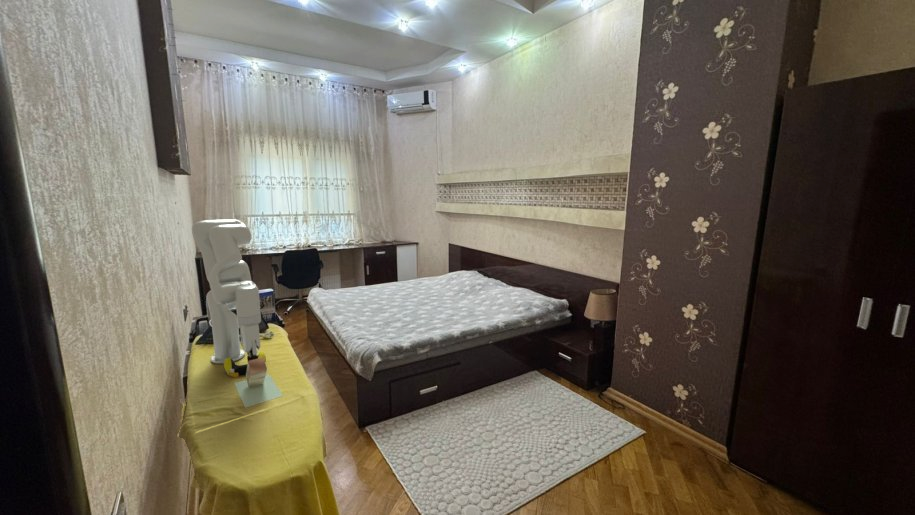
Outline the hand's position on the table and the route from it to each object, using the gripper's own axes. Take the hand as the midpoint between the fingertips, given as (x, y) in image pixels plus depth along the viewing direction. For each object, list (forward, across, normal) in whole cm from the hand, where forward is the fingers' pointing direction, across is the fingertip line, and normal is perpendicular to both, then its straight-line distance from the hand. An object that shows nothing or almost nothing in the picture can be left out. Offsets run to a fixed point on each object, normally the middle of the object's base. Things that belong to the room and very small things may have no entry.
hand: (253, 365), depth 138 cm
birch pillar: (+6, 0, 0) cm, 6 cm away
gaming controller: (+8, -14, -1) cm, 16 cm away
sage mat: (+8, +5, 0) cm, 10 cm away
